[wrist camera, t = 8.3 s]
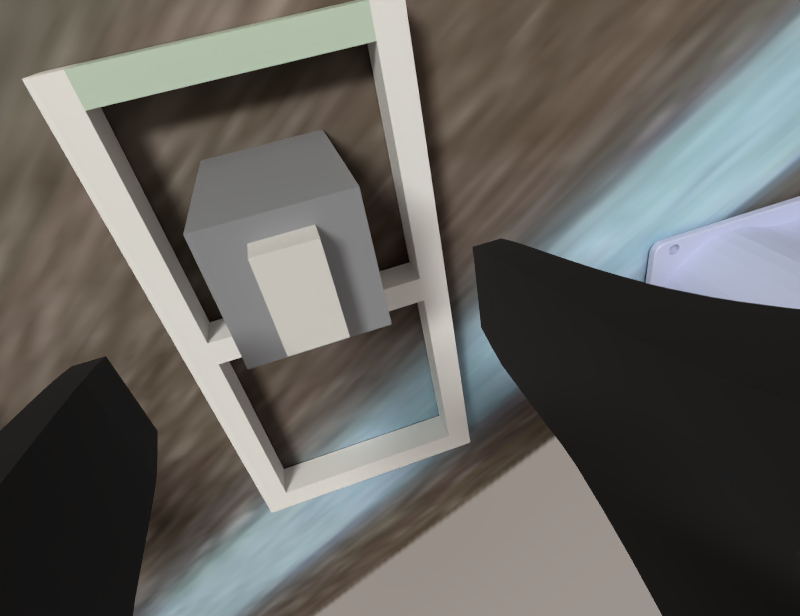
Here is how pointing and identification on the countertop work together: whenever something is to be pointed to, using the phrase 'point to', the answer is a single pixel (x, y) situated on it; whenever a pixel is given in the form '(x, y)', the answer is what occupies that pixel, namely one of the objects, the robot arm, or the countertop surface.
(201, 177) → the plug
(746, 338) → the robot arm
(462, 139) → the countertop surface
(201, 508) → the countertop surface
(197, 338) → the frame
